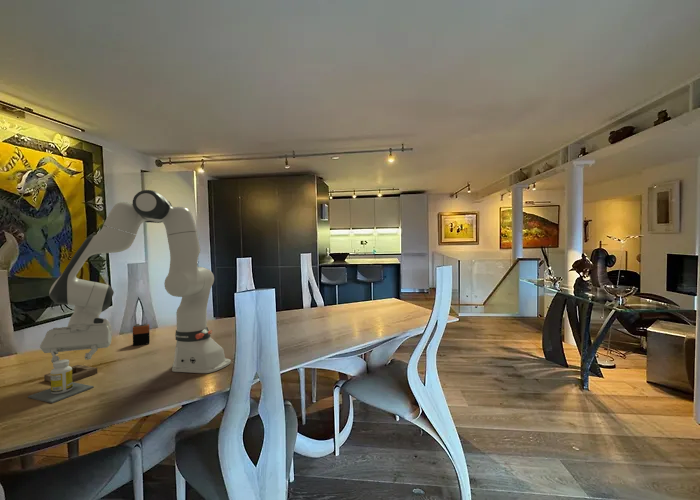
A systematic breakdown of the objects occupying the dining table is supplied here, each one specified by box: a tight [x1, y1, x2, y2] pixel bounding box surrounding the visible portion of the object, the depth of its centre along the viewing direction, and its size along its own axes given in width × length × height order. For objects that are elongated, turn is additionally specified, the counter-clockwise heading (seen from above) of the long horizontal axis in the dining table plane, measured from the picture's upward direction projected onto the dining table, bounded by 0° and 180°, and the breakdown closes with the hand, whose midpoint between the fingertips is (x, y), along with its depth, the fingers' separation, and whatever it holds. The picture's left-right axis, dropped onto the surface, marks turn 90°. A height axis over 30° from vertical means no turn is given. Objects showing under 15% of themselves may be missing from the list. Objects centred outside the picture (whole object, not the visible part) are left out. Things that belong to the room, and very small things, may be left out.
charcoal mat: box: [27, 381, 94, 404], centre depth 111 cm, size 12×12×1 cm
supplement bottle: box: [50, 358, 73, 394], centre depth 111 cm, size 5×5×10 cm
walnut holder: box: [43, 364, 99, 383], centre depth 124 cm, size 11×11×2 cm
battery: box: [132, 322, 151, 347], centre depth 166 cm, size 4×7×10 cm, turn 119°
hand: (71, 360), depth 117 cm, fingers open, 8 cm apart
